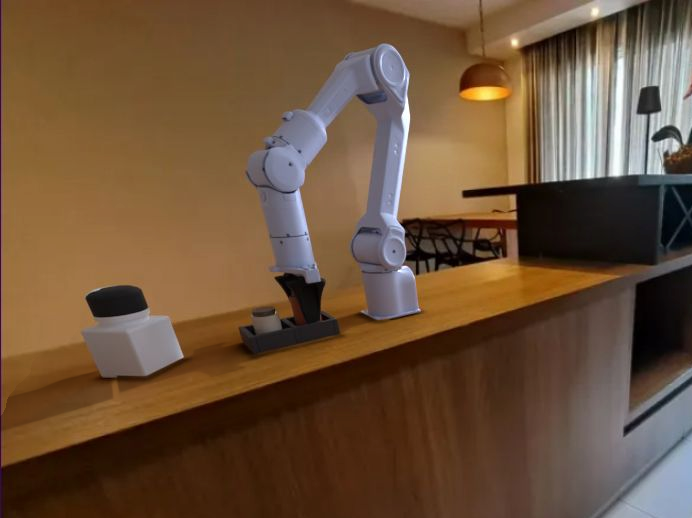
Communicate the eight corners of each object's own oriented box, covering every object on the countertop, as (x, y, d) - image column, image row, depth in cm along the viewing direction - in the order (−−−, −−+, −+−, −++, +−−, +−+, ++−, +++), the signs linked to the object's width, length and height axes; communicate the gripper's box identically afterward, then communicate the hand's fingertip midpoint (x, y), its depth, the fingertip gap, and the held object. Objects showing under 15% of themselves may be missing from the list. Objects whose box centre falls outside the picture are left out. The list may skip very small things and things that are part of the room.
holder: (325, 327, 81) (321, 310, 79) (340, 336, 76) (337, 318, 75) (243, 345, 73) (238, 327, 71) (255, 357, 68) (249, 337, 67)
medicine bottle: (186, 360, 67) (157, 282, 62) (147, 379, 61) (111, 294, 56) (143, 359, 68) (112, 281, 63) (100, 378, 62) (61, 294, 57)
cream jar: (281, 336, 75) (273, 304, 72) (288, 342, 72) (280, 309, 70) (255, 342, 72) (246, 309, 70) (262, 348, 70) (252, 314, 67)
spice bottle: (318, 323, 78) (309, 281, 75) (327, 329, 75) (318, 285, 72) (294, 329, 76) (283, 285, 73) (302, 335, 73) (291, 289, 70)
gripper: (249, 234, 72) (271, 314, 77) (275, 242, 62) (298, 333, 68) (294, 229, 76) (311, 306, 82) (325, 237, 66) (342, 323, 72)
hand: (308, 318), depth 75 cm, fingers closed on spice bottle, 4 cm apart
